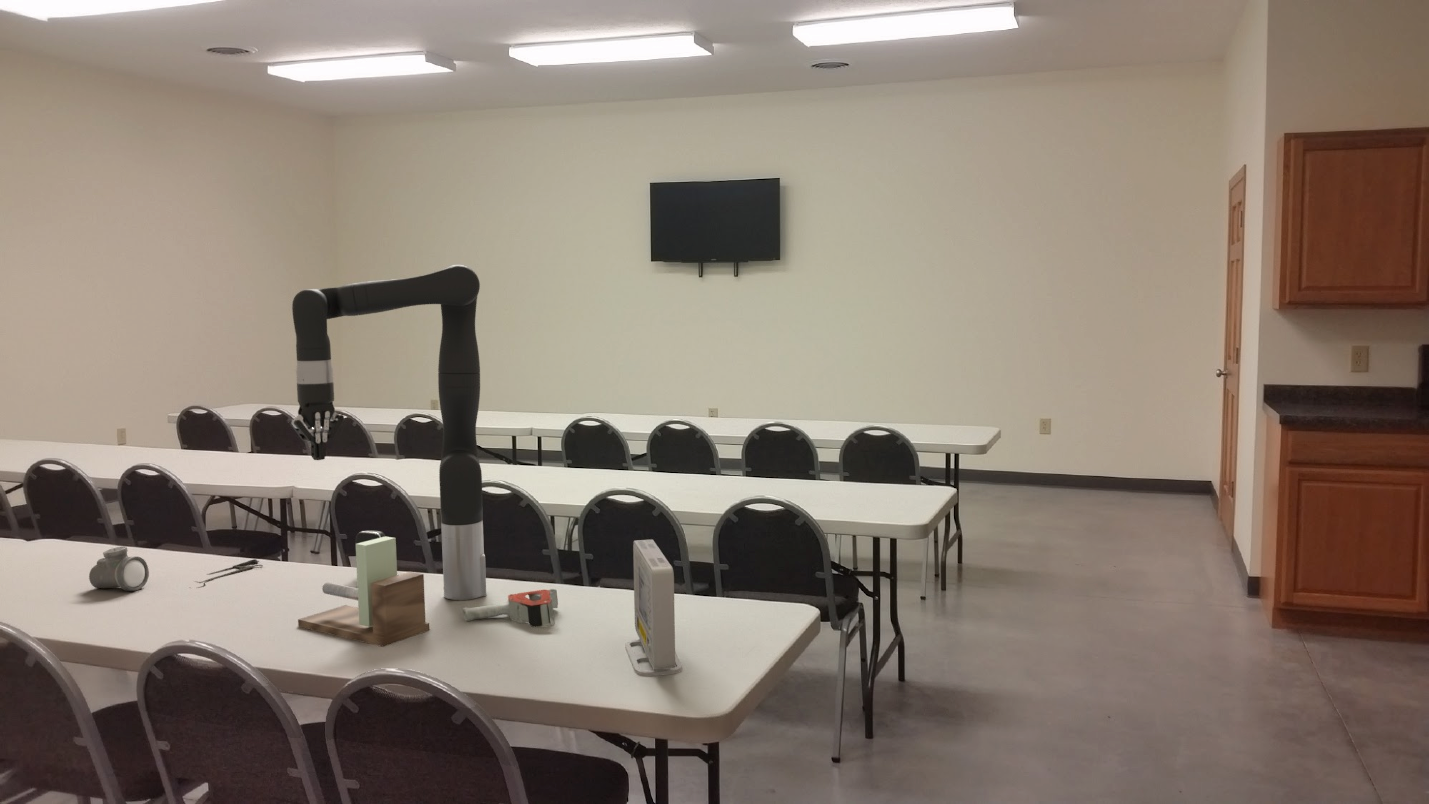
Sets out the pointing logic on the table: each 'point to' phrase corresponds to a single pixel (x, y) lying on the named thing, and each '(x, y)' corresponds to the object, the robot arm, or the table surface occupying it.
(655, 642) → the network device
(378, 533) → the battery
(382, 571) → the pale green tall slab
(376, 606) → the base board
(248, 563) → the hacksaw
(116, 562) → the pipe fitting
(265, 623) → the table surface
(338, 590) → the pipe
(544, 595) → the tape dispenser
